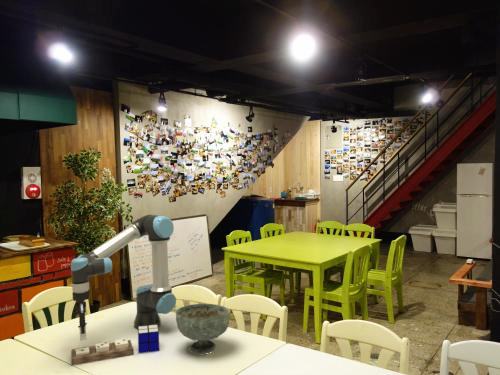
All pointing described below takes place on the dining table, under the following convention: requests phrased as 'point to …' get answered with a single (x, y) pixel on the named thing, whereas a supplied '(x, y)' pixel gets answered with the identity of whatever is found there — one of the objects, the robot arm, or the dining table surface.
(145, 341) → the puzzle cube
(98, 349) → the tile three
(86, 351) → the tile one
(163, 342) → the dining table surface
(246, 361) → the dining table surface
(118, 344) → the tile two
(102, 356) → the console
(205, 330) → the decorative bowl
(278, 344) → the dining table surface
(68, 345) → the dining table surface
